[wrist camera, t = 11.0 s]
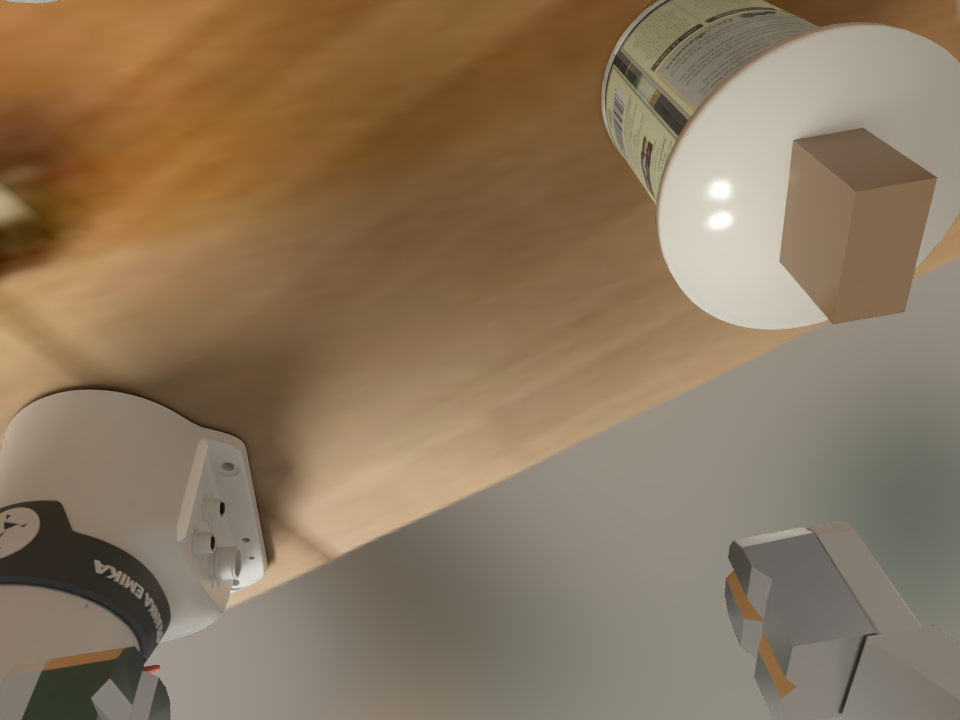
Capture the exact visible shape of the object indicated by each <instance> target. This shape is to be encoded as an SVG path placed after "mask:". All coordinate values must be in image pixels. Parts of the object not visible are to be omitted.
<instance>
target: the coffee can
mask: <svg viewBox="0 0 960 720" xmlns="http://www.w3.org/2000/svg"><path fill="white" fill-rule="evenodd" d="M815 28H819V26H816V25H814V24H812V23H810V22H808V21H806V20H804V19H802V18H800V17H798V16H795V15H793V14H791V13H789V12H787V11H785V10H782V9H780V8H778V7H776V6H774V5H772V4H770V3H768V2H766V1H764V0H657V1H656V2H655V3H653V4H652V5H651V6H649V7H647V8H646V9H644V10H643V11H642V12H641V13H640V14H639V16H638V17H637V18H636V19H635V20H634V21H633V22H632V23H631V24H630V25H629V26H628V28H627V29H626V30H625V32H624V33H623V34H622V36H621V37H620V39H619V40H618V42H617V44H616V45H615V47H614V49H613V51H612V53H611V55H610V58H609V60H608V63H607V66H606V69H605V73H604V77H603V79H602V91H601V107H602V115H603V120H604V124H605V127H606V130H607V133H608V135H609V137H610V139H611V141H612V143H613V144H614V146H615V148H616V149H617V150H618V151H619V152H620V154H621V155H622V156H623V157H624V158H625V160H626V161H627V163H628V164H629V166H630V167H631V169H632V170H633V172H634V173H635V175H636V176H637V178H638V179H639V180H640V182H641V183H642V185H643V186H644V188H645V189H646V191H647V192H648V194H649V195H650V197H651V198H652V200H653V201H654V203H655V204H656V201H657V194H658V189H659V184H660V179H661V176H662V173H663V170H664V167H665V164H666V161H667V158H668V156H669V154H670V152H671V150H672V148H673V146H674V144H675V142H676V139H677V138H678V136H679V134H680V133H681V131H682V130H683V128H684V126H685V125H686V123H687V121H688V120H689V118H690V117H691V116H692V114H693V113H694V112H695V111H696V109H697V108H698V107H699V106H700V104H701V103H702V102H703V100H704V99H705V98H706V97H707V96H708V95H709V94H710V93H711V92H712V91H713V90H714V89H715V88H716V87H717V86H718V85H719V84H720V83H721V82H722V81H723V80H724V79H725V78H726V77H728V76H729V75H730V74H731V73H732V72H734V71H735V70H736V69H737V68H738V67H740V66H741V65H742V64H744V63H745V62H747V61H748V60H750V59H751V58H753V57H754V56H756V55H757V54H759V53H760V52H762V51H763V50H765V49H767V48H769V47H771V46H773V45H775V44H777V43H778V42H780V41H782V40H784V39H787V38H789V37H792V36H794V35H797V34H800V33H802V32H805V31H807V30H811V29H815Z"/></svg>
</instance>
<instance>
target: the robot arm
mask: <svg viewBox="0 0 960 720" xmlns="http://www.w3.org/2000/svg"><path fill="white" fill-rule="evenodd" d="M228 463H232V464H228ZM728 559H729V561H730V563H731V565H732V567H733V570H734V571H733V572H732V573H731V574H730V575H729V576H728V577H727V578H726V582H725V598H726V605H727V611H728V615H729V618H730V621H731V624H732V627H733V630H734V633H735V635H736V637H737V640H738V642H739V644H740V647H742V648H743V649H745V650H746V651H747V652H749V653H750V654H752V655H753V656H754V657H756V658H757V662H756V668H755V675H754V678H755V681H756V683H757V685H758V687H759V689H760V692H761V694H762V696H763V698H764V701H765V703H766V705H767V707H768V709H769V711H770V714H771V716H772V718H773V720H817V719H823V718H830V717H837V716H841V720H960V641H959V640H957V639H955V638H954V637H952V636H950V635H949V634H947V633H945V632H944V631H942V630H941V629H939V628H937V627H936V626H934V625H930V626H923V627H922V626H921V625H920V624H919V622H918V621H917V619H916V618H915V616H914V615H913V614H912V612H911V611H910V609H909V608H908V606H907V605H906V603H905V602H904V601H903V599H902V598H901V596H900V595H899V594H898V592H897V591H896V589H895V588H894V586H893V585H892V583H891V582H890V580H889V579H888V577H887V576H886V575H885V573H884V572H883V570H882V569H881V567H880V566H879V564H878V563H877V562H876V560H875V559H874V557H873V556H872V554H871V553H870V552H869V550H868V549H867V547H866V546H865V544H864V543H863V541H862V540H861V539H860V537H859V536H858V534H857V533H856V531H855V530H854V529H853V527H852V526H850V525H849V524H847V523H846V522H835V523H830V524H824V525H819V526H814V527H809V528H803V527H801V528H796V529H791V530H786V531H780V532H775V533H770V534H765V535H760V536H755V537H749V538H744V539H738V540H734V541H733V542H732V543H731V545H730V546H729V554H728ZM266 569H267V557H266V551H265V546H264V541H263V536H262V530H261V525H260V520H259V514H258V509H257V504H256V499H255V493H254V488H253V483H252V477H251V472H250V467H249V462H248V456H247V451H246V447H245V445H244V443H243V442H242V441H241V440H240V439H238V438H236V437H234V436H232V435H229V434H226V433H223V432H219V431H215V430H212V429H207V428H203V427H200V426H198V425H196V424H194V423H192V422H190V421H188V420H187V419H185V418H183V417H182V416H180V415H178V414H177V413H175V412H173V411H172V410H170V409H168V408H166V407H164V406H162V405H159V404H157V403H155V402H152V401H150V400H147V399H144V398H141V397H137V396H134V395H130V394H125V393H120V392H114V391H106V390H74V391H66V392H61V393H57V394H53V395H50V396H47V397H44V398H41V399H39V400H37V401H35V402H33V403H31V404H29V405H28V406H26V407H25V408H24V409H22V410H21V411H20V412H19V413H18V414H17V415H16V416H15V417H14V418H13V419H12V421H11V422H10V424H9V425H8V427H7V429H6V432H5V435H4V439H3V443H2V447H1V451H0V720H170V699H169V696H168V693H167V690H166V687H165V685H164V684H163V683H162V681H161V680H160V678H159V677H157V676H154V675H152V674H151V673H153V672H155V671H157V670H159V669H160V666H159V665H152V666H146V667H144V664H145V662H146V661H147V660H148V658H149V657H150V655H151V654H152V652H153V651H154V649H155V648H156V646H157V645H158V643H160V642H164V641H167V640H171V639H174V638H178V637H181V636H184V635H188V634H191V633H194V632H196V631H199V630H201V629H203V628H205V627H207V626H209V625H210V624H212V623H213V622H215V621H216V620H217V619H218V618H219V617H220V616H221V615H222V613H223V612H224V610H225V608H226V605H227V602H228V599H229V595H230V593H233V592H236V591H239V590H241V589H244V588H246V587H248V586H250V585H252V584H253V583H255V582H256V581H258V580H259V579H261V578H262V577H263V576H264V575H265V572H266Z"/></svg>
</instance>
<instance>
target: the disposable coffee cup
mask: <svg viewBox="0 0 960 720" xmlns="http://www.w3.org/2000/svg"><path fill="white" fill-rule="evenodd" d="M6 1H10V2H25V3H45V2H51V1H58V0H6Z"/></svg>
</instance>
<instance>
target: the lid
mask: <svg viewBox="0 0 960 720" xmlns="http://www.w3.org/2000/svg"><path fill="white" fill-rule="evenodd" d="M959 213H960V63H959V61H958V60H956V59H955V58H954V57H953V56H952V55H951V54H950V53H949V52H948V51H947V50H946V49H944V48H943V47H941V46H939V45H938V44H936V43H934V42H933V41H931V40H929V39H927V38H925V37H923V36H920V35H918V34H915V33H913V32H910V31H907V30H905V29H902V28H900V27H897V26H892V25H887V24H881V23H876V22H848V23H840V24H831V25H827V26H823V27H819V28H815V29H811V30H807V31H805V32H802V33H800V34H797V35H794V36H792V37H789V38H787V39H784V40H782V41H780V42H778V43H777V44H775V45H773V46H771V47H769V48H767V49H765V50H763V51H762V52H760V53H759V54H757V55H756V56H754V57H753V58H751V59H750V60H748V61H747V62H745V63H744V64H742V65H741V66H740V67H738V68H737V69H736V70H735V71H734V72H732V73H731V74H730V75H729V76H728V77H726V78H725V79H724V80H723V81H722V82H721V83H720V84H719V85H718V86H717V87H716V88H715V89H714V90H713V91H712V92H711V93H710V94H709V95H708V96H707V97H706V98H705V99H704V100H703V102H702V103H701V104H700V106H699V107H698V108H697V109H696V111H695V112H694V113H693V114H692V116H691V117H690V118H689V120H688V121H687V123H686V125H685V126H684V128H683V130H682V131H681V133H680V134H679V136H678V138H677V139H676V142H675V144H674V146H673V148H672V150H671V152H670V154H669V156H668V158H667V161H666V164H665V167H664V170H663V173H662V176H661V179H660V184H659V189H658V194H657V201H656V216H655V218H656V231H657V238H658V242H659V246H660V250H661V253H662V255H663V258H664V260H665V263H666V265H667V267H668V269H669V270H670V272H671V274H672V275H673V277H674V279H675V280H676V282H677V284H678V285H679V287H680V288H681V290H682V291H683V292H684V293H685V294H686V295H687V296H688V298H689V299H690V300H691V301H692V302H693V303H695V304H696V305H697V306H698V307H700V308H701V309H702V310H703V311H705V312H707V313H709V314H710V315H712V316H714V317H716V318H718V319H720V320H723V321H725V322H728V323H730V324H734V325H738V326H742V327H747V328H755V329H764V330H770V329H789V328H798V327H803V326H808V325H812V324H817V323H820V322H823V321H826V320H830V322H831V323H832V324H837V323H843V322H849V321H854V320H860V319H866V318H872V317H877V316H883V315H889V314H894V313H900V312H904V311H905V307H906V303H907V299H908V295H909V291H910V287H911V283H912V279H913V275H914V271H915V268H916V267H917V266H918V265H919V264H920V263H921V262H922V261H923V260H924V259H925V258H926V257H927V256H928V255H929V254H930V252H931V251H932V250H933V249H934V248H935V247H936V246H937V245H938V243H939V242H940V241H941V239H942V238H943V237H944V235H945V234H946V233H947V231H948V230H949V229H950V227H951V226H952V224H953V223H954V221H955V219H956V218H957V216H958V214H959Z"/></svg>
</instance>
